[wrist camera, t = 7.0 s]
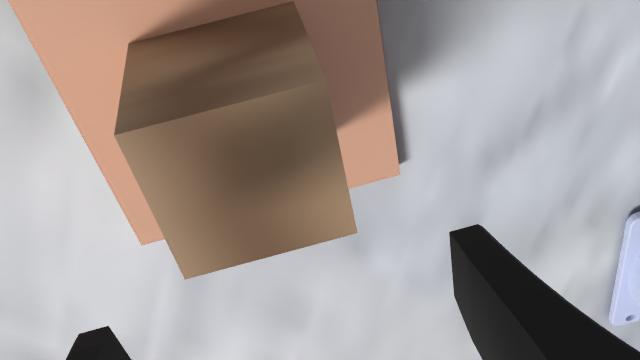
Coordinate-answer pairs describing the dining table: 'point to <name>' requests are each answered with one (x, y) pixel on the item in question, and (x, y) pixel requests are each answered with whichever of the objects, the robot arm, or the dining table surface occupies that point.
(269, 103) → the walnut cube
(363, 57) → the terracotta tile
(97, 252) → the dining table surface
